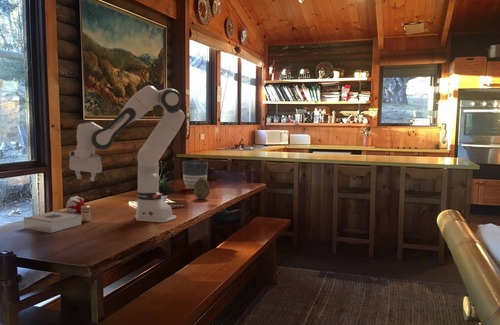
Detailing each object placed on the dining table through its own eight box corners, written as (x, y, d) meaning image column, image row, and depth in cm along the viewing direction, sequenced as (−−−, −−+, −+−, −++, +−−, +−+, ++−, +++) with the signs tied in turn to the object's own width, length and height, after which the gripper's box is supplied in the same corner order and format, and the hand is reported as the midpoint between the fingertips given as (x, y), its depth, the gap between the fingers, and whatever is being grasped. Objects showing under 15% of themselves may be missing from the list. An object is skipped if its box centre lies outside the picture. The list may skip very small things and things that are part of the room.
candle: (72, 208, 245) (93, 214, 240) (58, 212, 234) (79, 218, 229) (73, 193, 243) (95, 198, 239) (59, 196, 233) (81, 202, 228)
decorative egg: (205, 201, 277) (205, 178, 276) (190, 200, 281) (191, 177, 279) (212, 198, 288) (212, 176, 286) (197, 197, 291) (198, 176, 290)
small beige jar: (92, 221, 218) (92, 205, 217) (85, 222, 214) (85, 207, 213) (85, 220, 220) (85, 205, 219) (79, 221, 216) (78, 206, 215)
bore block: (81, 224, 210) (81, 214, 210) (51, 232, 194) (50, 221, 193) (55, 220, 217) (54, 210, 217) (24, 228, 201) (23, 217, 201)
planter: (206, 191, 316) (206, 163, 314) (180, 191, 316) (180, 162, 314) (209, 187, 335) (209, 160, 333) (184, 187, 336) (184, 160, 333)
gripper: (105, 154, 213) (104, 181, 214) (77, 151, 223) (77, 177, 224) (95, 155, 208) (95, 182, 209) (67, 152, 217) (67, 178, 218)
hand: (85, 180), depth 216 cm, fingers open, 8 cm apart
